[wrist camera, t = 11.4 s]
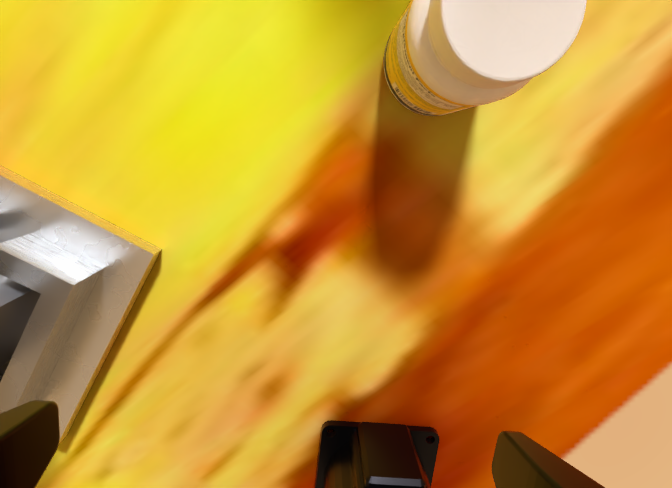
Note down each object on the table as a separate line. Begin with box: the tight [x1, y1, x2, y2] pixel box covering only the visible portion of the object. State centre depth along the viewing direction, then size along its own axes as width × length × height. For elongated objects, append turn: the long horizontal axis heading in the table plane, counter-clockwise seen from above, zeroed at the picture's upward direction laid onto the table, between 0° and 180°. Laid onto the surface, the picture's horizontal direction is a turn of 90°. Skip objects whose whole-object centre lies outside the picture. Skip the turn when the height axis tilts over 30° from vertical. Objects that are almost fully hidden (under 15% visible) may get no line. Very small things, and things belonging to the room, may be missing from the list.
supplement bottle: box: [384, 0, 586, 116], centre depth 15 cm, size 5×5×8 cm
